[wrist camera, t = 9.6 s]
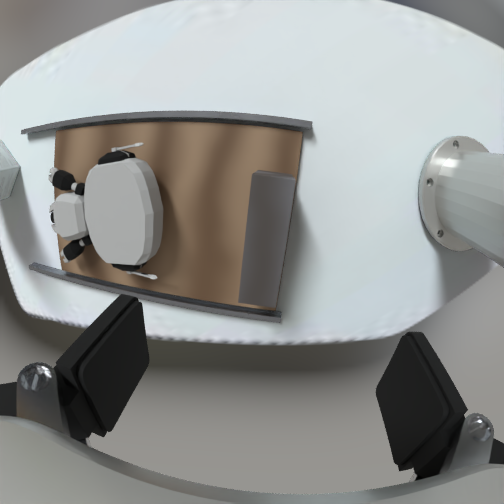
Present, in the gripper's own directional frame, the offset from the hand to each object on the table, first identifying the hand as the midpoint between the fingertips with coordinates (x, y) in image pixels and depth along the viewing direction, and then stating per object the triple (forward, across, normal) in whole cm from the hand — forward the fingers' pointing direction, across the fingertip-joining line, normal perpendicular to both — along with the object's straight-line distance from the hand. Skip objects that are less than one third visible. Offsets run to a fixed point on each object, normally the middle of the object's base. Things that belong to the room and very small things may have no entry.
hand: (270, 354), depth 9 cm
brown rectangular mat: (+18, +13, 0) cm, 22 cm away
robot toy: (+18, +18, 0) cm, 25 cm away
